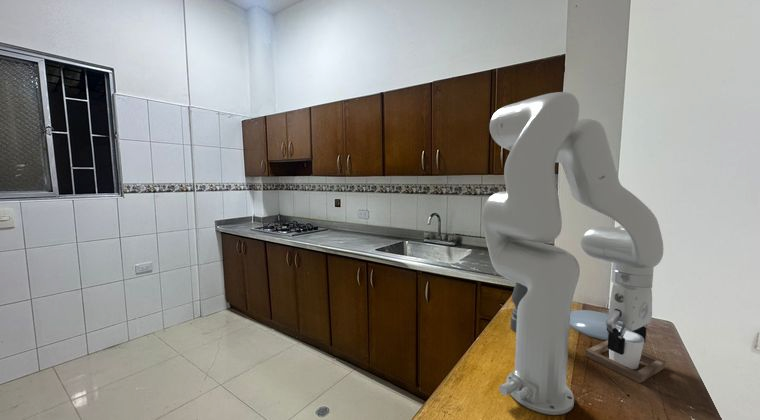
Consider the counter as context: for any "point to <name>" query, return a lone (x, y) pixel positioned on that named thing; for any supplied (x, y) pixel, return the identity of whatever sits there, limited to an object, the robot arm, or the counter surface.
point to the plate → (590, 323)
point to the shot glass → (629, 350)
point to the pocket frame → (637, 376)
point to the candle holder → (517, 302)
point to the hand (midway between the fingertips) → (626, 345)
